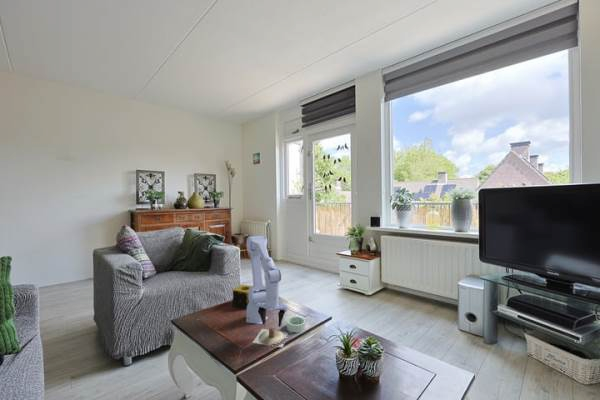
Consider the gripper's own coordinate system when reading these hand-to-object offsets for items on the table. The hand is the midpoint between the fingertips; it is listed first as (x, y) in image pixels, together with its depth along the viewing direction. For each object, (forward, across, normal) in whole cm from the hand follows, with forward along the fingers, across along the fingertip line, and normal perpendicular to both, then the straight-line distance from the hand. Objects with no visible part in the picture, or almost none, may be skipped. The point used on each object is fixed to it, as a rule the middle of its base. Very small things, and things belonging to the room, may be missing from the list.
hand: (271, 324), depth 123 cm
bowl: (+7, +9, +11) cm, 16 cm away
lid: (+6, 0, 0) cm, 6 cm away
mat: (+7, 0, 0) cm, 7 cm away
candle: (+7, -27, +29) cm, 40 cm away
